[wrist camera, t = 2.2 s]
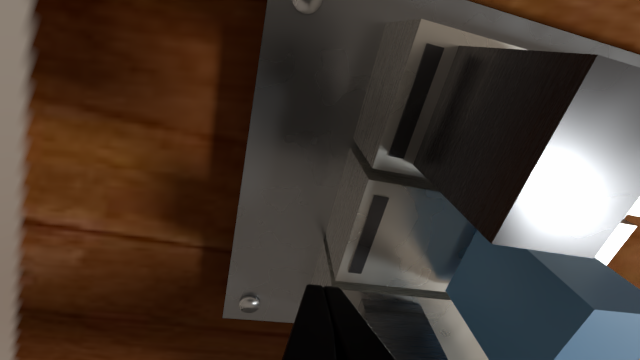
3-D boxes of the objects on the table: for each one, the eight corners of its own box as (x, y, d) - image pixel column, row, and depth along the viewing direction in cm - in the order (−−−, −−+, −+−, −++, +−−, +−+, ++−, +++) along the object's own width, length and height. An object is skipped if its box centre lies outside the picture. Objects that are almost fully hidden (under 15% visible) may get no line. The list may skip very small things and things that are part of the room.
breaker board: (516, 320, 21) (654, 489, 13) (227, 295, 17) (180, 510, 9) (684, 77, 14) (1151, 128, 7) (276, -48, 10) (259, -267, 3)
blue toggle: (500, 296, 12) (592, 406, 9) (445, 290, 12) (517, 404, 8) (547, 223, 11) (679, 318, 7) (485, 213, 10) (594, 309, 7)
